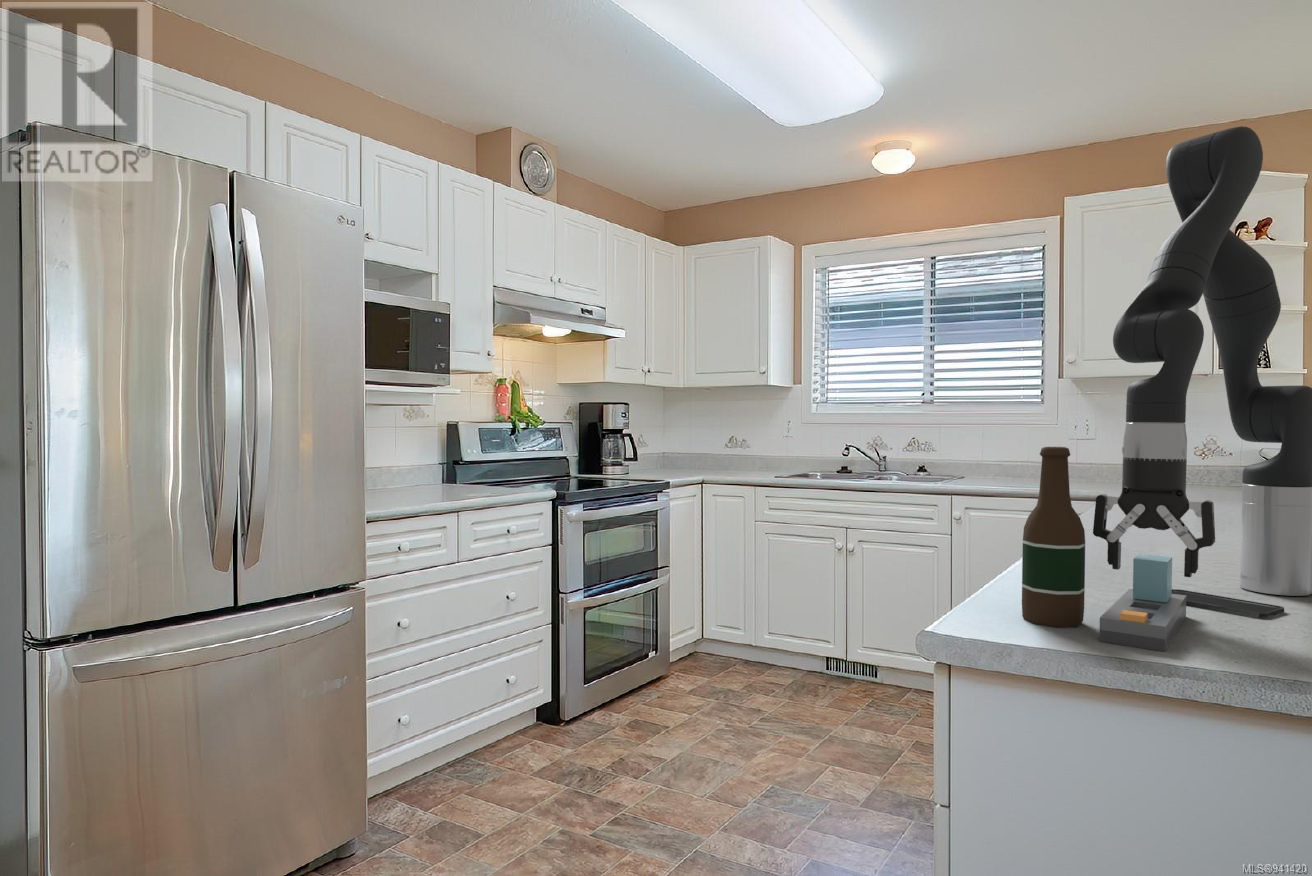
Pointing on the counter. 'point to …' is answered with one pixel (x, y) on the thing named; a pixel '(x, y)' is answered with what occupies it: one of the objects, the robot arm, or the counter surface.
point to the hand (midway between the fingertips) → (1151, 572)
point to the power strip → (1142, 622)
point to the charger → (1152, 578)
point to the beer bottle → (1053, 550)
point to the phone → (1230, 605)
